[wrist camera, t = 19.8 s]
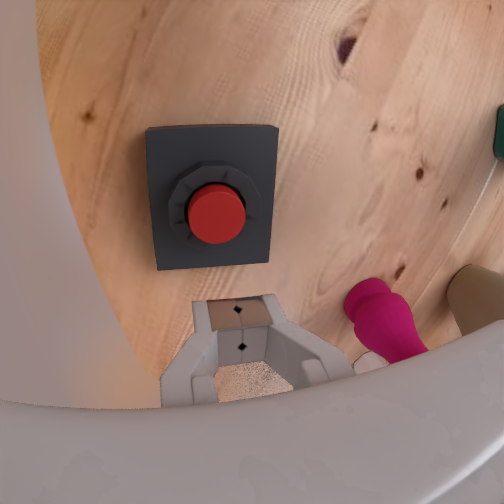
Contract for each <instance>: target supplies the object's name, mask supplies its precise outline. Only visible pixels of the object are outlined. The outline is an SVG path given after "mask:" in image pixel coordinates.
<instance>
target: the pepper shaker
mask: <svg viewBox="0 0 504 504" xmlns="http://www.w3.org/2000/svg"><path fill="white" fill-rule="evenodd" d="M384 366H387V363H386V361H385V359H384V358H383V357H381V356H380V355H378V354H376V353H374V352H373V351H370V352H368V353H365V354H363V355H362V356H361V357H360V358H359V359H358V360H357V361H356V362H355V363H354V371H355V373H356V374H357V375H358V374H361V373H364V372H368V371H371V370H374V369H378V368H381V367H384Z"/></svg>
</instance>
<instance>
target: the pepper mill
mask: <svg viewBox="0 0 504 504" xmlns="http://www.w3.org/2000/svg"><path fill="white" fill-rule="evenodd" d="M344 309H345V312H346V314H347V316H348V317H349V319H350V320H351V321H352V322H353V323H354V332H355V334H356V337H357V338H358V339H359V340H360V342H361V343H362V344H363V345H364V346H365V347H367V348H368V349H369V350H371V351H373V352H374V353H376V354H378V355H380V356H381V357H383V358H385V359H386V360H387V361H388V362H389V363H390V364H393V363H396V362H399V361H402V360H405V359H408V358H411V357H413V356H416V355H419V354H421V353H424V352H427V351H429V350H428V349H427V348H426V347H425V346H424V344H423V343H422V341H421V340H420V338H419V336H418V334H417V332H416V328H415V325H414V320H413V316H412V312H411V310H410V307H409V305H408V304H407V302H406V301H405V300H404V298H403V297H402V296H400V295H399V294H396V293H391V290H390V289H389V288H388V286H387V285H386V284H385V283H384V282H383V281H382V280H380V279H375V278H374V279H368V280H365V281H363V282H361V283H359V284H358V285H357V286H356V287H354V288H353V289H352V291H351V292H350V293H349V295H348V296H347V298H346V301H345V305H344Z"/></svg>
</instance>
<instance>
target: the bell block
mask: <svg viewBox="0 0 504 504" xmlns="http://www.w3.org/2000/svg"><path fill="white" fill-rule="evenodd" d="M278 134H279V128H277V127H274V126H272V125H257V124H203V125H178V126H162V127H149V128H148V129H147V130H146V131H145V136H146V159H147V175H148V189H149V201H150V212H151V222H152V231H153V240H154V249H155V256H156V264H157V270H158V271H161V270H175V269H189V268H203V267H216V266H229V265H242V264H255V263H267V262H269V251H270V240H271V227H272V215H273V202H274V189H275V176H276V162H277V148H278ZM214 184H219V185H224V186H227V187H229V188H230V189H232V190H233V191H234V192H235V193H236V194H237V195H238V197H239V199H240V201H241V203H242V205H243V207H244V209H245V223H244V225H243V228H242V229H241V231H240V232H239V233H238V235H237V236H235V237H234V238H233V239H231V240H229V241H227V242H224V243H219V244H212V243H207V242H204V241H202V240H200V239H199V238H198V237H196V236H195V234H194V233H193V232H192V230H191V228H190V225H189V218H188V206H189V202H190V200H191V198H192V197H193V195H194V194H195V193H196V192H197V191H198V190H200V189H201V188H203V187H205V186H208V185H214Z"/></svg>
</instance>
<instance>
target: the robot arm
mask: <svg viewBox="0 0 504 504" xmlns="http://www.w3.org/2000/svg"><path fill="white" fill-rule="evenodd" d="M192 310H193V321H194V332H195V333H193V334H191V335H190V337H189V338H188V339H187V341H186V342H185V343H184V345H183V346H182V348H181V349H180V350H179V352H178V353H177V355H176V356H175V357H174V359H173V360H172V362H171V363H170V364H169V366H168V367H167V369H166V370H165V371H164V373H163V374H162V376H161V377H160V391H161V408H146V409H145V408H144V409H87V408H67V407H55V406H43V405H34V404H25V403H18V402H11V401H5V400H0V504H504V320H497V321H495V322H493V323H491V324H489V325H487V326H485V327H483V328H481V329H478V330H476V331H474V332H472V333H470V334H468V335H465V336H463V337H461V338H459V339H456V340H454V341H452V342H449V343H447V344H444V345H442V346H439V347H437V348H434V349H432V350H429V351H427V352H424V353H421V354H419V355H416V356H413V357H411V358H408V359H405V360H402V361H399V362H396V363H393V364H390V365H387V366H384V367H381V368H378V369H374V370H371V371H368V372H364V373H361V374H358V375H357V374H356V373H355V371H354V369H353V368H352V366H351V364H350V362H349V361H348V359H347V357H346V356H345V354H344V352H343V351H342V350H340V349H338V348H336V347H335V346H333V345H331V344H329V343H328V342H326V341H324V340H322V339H321V338H319V337H317V336H315V335H314V334H312V333H310V332H309V331H307V330H305V329H303V328H302V327H300V326H298V325H297V324H295V323H293V322H288V320H287V318H286V316H285V314H284V312H283V310H282V308H281V306H280V304H279V302H278V300H277V298H276V296H275V294H266V295H260V296H252V297H243V298H232V299H218V300H206V301H192ZM260 361H265V363H266V364H268V365H269V366H270V367H271V368H272V369H273V370H274V371H276V372H277V373H278V374H279V375H280V376H282V377H283V378H284V379H285V380H286V381H287V382H289V383H290V384H291V385H292V386H293V387H294V389H293V391H288V392H283V393H277V394H272V395H267V396H261V397H255V398H249V399H242V400H235V401H228V402H220V403H219V401H218V396H217V392H216V387H215V382H214V377H215V375H216V373H217V370H218V367H222V366H229V365H236V364H243V363H251V362H260Z"/></svg>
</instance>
